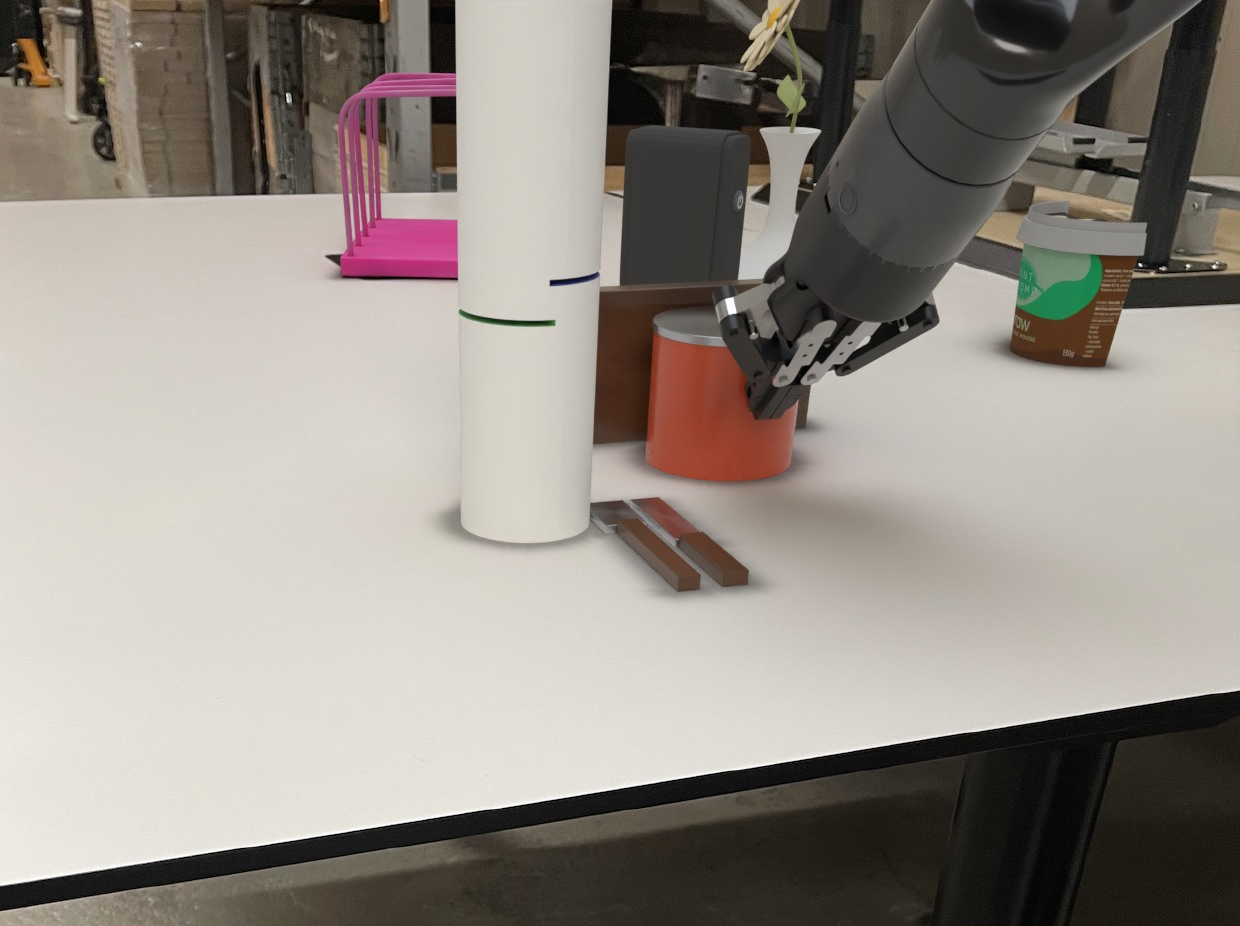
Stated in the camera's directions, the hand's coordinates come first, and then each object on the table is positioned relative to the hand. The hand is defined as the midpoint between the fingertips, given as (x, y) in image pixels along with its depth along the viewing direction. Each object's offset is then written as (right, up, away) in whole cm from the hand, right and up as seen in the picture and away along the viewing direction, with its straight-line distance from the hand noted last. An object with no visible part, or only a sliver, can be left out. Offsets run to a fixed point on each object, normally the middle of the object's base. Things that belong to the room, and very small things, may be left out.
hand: (761, 405), depth 81 cm
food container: (+27, +16, +30) cm, 44 cm away
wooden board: (-3, +3, +11) cm, 12 cm away
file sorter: (-21, +41, +64) cm, 79 cm away
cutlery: (-6, -10, -6) cm, 13 cm away
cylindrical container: (-14, -8, -3) cm, 16 cm away
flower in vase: (+8, +25, +42) cm, 50 cm away
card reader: (-1, +18, +32) cm, 36 cm away
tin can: (-2, -1, +7) cm, 7 cm away
